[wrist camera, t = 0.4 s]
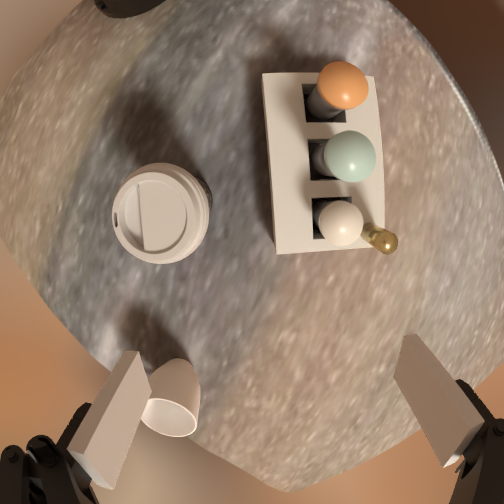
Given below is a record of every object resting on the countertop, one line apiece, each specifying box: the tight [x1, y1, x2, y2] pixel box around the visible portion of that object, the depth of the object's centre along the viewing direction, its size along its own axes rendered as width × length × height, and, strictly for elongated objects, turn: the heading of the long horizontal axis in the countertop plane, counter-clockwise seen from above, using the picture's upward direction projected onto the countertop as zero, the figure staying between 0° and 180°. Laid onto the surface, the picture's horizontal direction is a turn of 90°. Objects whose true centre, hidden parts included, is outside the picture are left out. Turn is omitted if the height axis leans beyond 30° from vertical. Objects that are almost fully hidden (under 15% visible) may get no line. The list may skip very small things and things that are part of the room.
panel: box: [261, 73, 384, 254], centre depth 34 cm, size 22×14×5 cm, turn 5°
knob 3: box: [312, 198, 363, 246], centre depth 34 cm, size 5×5×9 cm
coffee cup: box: [112, 163, 212, 264], centre depth 31 cm, size 10×10×15 cm
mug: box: [141, 358, 200, 437], centre depth 40 cm, size 12×9×12 cm
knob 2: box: [312, 130, 376, 182], centre depth 28 cm, size 5×5×9 cm
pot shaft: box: [360, 222, 398, 254], centre depth 31 cm, size 2×2×6 cm
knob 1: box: [307, 61, 369, 120], centre depth 26 cm, size 5×5×9 cm
